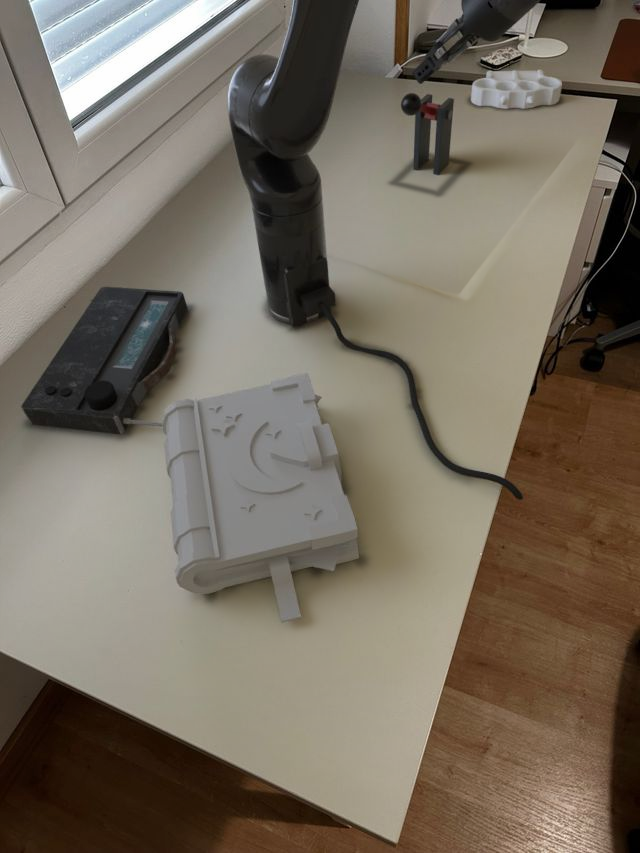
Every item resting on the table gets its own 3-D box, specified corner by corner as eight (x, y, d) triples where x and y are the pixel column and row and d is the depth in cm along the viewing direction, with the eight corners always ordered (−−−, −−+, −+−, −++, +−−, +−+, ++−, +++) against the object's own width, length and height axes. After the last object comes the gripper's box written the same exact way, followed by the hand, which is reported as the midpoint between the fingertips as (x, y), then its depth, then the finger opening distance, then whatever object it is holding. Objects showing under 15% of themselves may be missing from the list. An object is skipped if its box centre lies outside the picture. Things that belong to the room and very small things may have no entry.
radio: (99, 279, 96) (226, 288, 93) (108, 302, 100) (231, 311, 96) (15, 401, 80) (165, 417, 77) (29, 424, 84) (174, 440, 80)
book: (190, 650, 62) (170, 615, 56) (168, 436, 80) (152, 394, 75) (382, 601, 64) (382, 563, 58) (319, 403, 82) (314, 360, 77)
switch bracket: (438, 194, 113) (443, 120, 104) (393, 183, 117) (394, 111, 107) (467, 163, 120) (474, 91, 110) (423, 154, 123) (426, 83, 114)
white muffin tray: (555, 81, 140) (561, 111, 131) (470, 83, 143) (470, 112, 133) (558, 65, 138) (565, 94, 128) (472, 67, 140) (472, 95, 131)
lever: (413, 115, 101) (418, 93, 99) (395, 112, 102) (400, 90, 101) (443, 124, 111) (448, 104, 110) (426, 121, 113) (431, 101, 111)
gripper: (509, -48, 87) (422, 40, 101) (467, -19, 80) (381, 72, 94) (540, 1, 89) (451, 82, 103) (502, 34, 82) (412, 115, 96)
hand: (417, 77), depth 98 cm, fingers closed
